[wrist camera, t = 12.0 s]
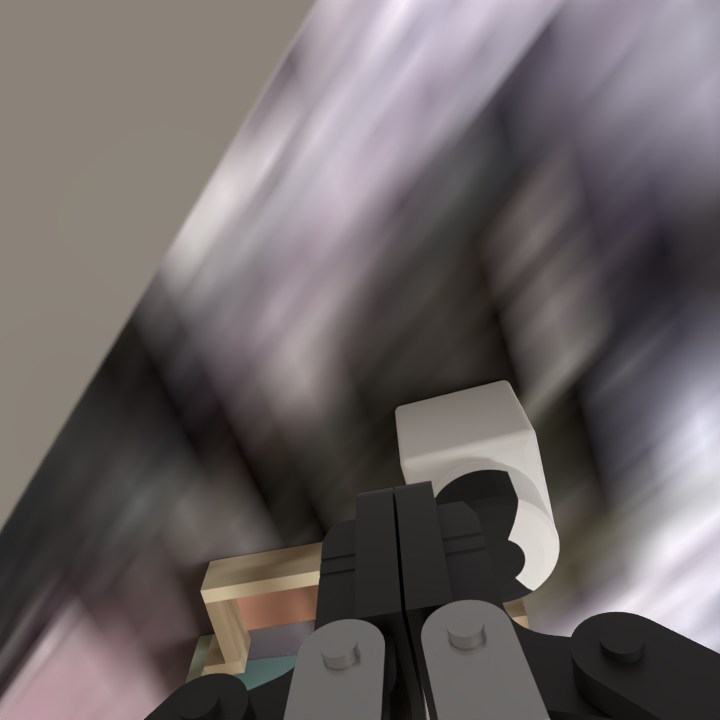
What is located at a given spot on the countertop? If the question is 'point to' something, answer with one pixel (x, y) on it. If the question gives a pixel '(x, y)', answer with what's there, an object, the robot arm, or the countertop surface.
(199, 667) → the beige wooden flat frame
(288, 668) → the teal block
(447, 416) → the medicine bottle
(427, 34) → the countertop surface
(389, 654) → the robot arm
